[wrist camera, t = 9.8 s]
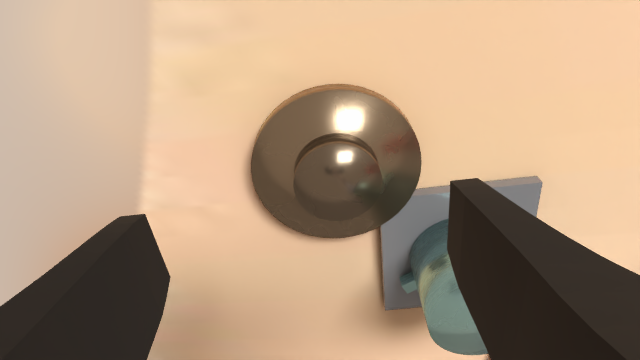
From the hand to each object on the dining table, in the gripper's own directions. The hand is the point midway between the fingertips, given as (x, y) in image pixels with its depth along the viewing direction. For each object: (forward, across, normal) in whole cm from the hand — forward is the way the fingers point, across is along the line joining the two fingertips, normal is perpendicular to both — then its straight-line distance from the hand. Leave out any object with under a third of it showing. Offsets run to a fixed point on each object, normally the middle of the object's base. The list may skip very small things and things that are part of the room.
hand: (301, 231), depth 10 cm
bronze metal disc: (+10, -1, +4) cm, 11 cm away
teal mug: (+10, -7, +10) cm, 16 cm away
